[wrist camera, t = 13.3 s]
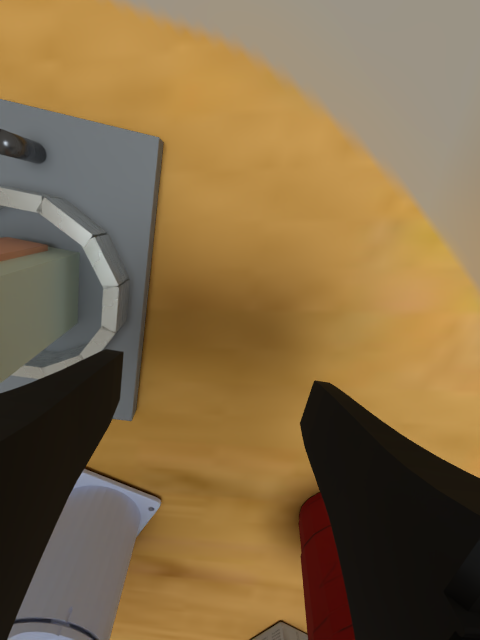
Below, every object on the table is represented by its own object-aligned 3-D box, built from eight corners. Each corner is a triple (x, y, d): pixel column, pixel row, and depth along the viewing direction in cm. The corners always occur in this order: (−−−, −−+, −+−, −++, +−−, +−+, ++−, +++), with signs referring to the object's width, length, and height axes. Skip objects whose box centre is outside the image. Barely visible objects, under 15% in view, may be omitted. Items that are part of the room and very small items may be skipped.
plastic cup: (409, 478, 26) (548, 677, 15) (356, 556, 30) (437, 765, 19) (299, 454, 25) (363, 657, 13) (255, 539, 28) (278, 759, 17)
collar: (122, 372, 20) (109, 393, 17) (-46, 348, 18) (-85, 368, 16) (138, 165, 16) (124, 157, 13) (-77, 116, 14) (-135, 97, 12)
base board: (136, 410, 22) (131, 421, 21) (-39, 388, 21) (-54, 398, 20) (163, 142, 16) (159, 137, 15) (-79, 84, 15) (-103, 74, 14)
